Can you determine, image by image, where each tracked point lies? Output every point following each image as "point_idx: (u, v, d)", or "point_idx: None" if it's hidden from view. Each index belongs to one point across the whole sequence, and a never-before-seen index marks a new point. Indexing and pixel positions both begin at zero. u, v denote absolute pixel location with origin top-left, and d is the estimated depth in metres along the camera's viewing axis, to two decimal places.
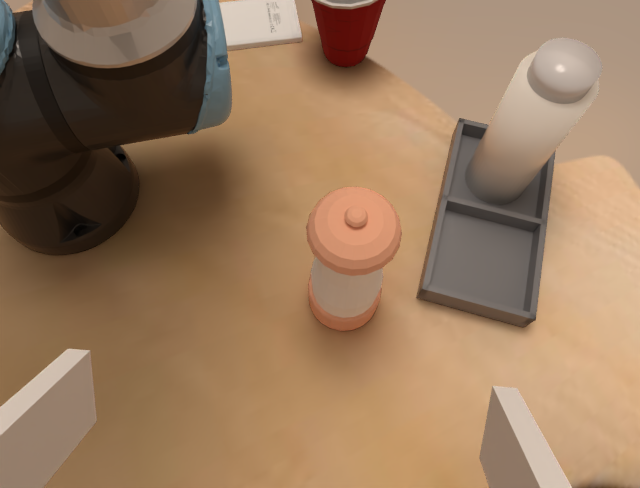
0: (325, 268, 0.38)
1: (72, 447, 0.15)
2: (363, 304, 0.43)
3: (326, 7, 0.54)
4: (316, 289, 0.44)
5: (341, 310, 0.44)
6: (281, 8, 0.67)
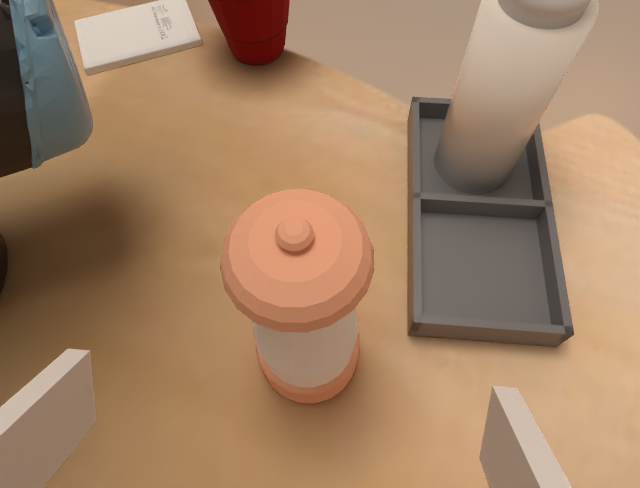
0: None
1: (72, 447, 0.15)
2: (337, 364, 0.29)
3: None
4: (264, 356, 0.29)
5: (307, 379, 0.30)
6: (170, 11, 0.54)
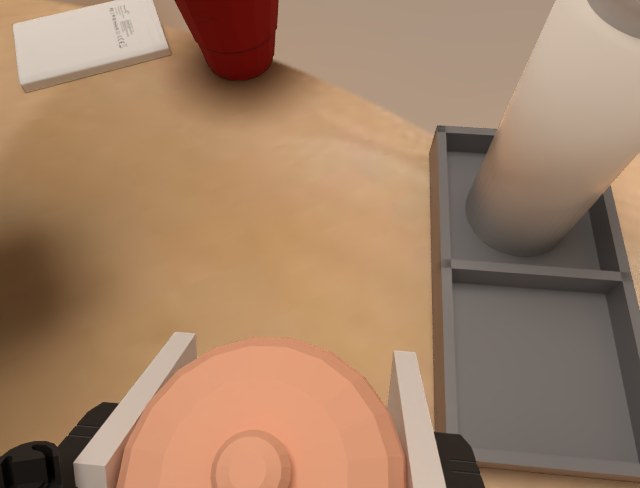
0: None
1: None
2: None
3: None
4: None
5: None
6: (133, 12, 0.44)
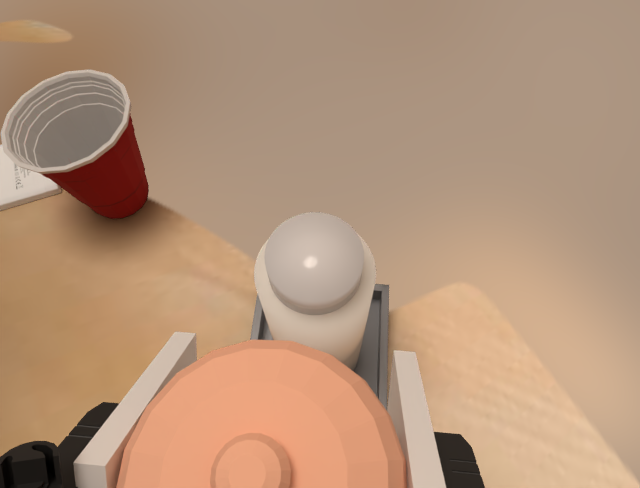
0: None
1: None
2: None
3: None
4: None
5: None
6: None
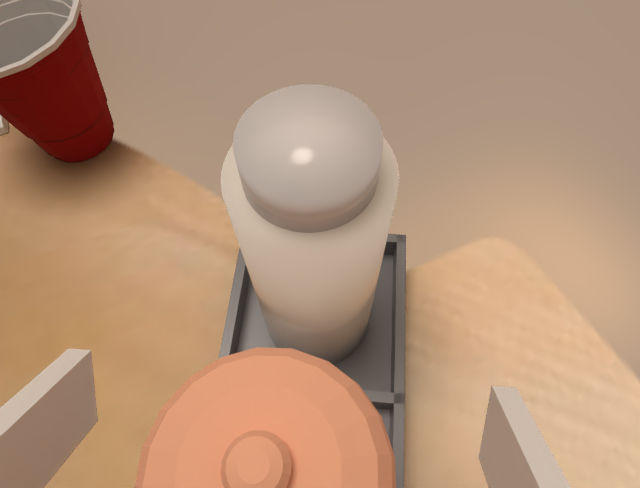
0: None
1: (73, 447, 0.15)
2: None
3: None
4: None
5: None
6: None
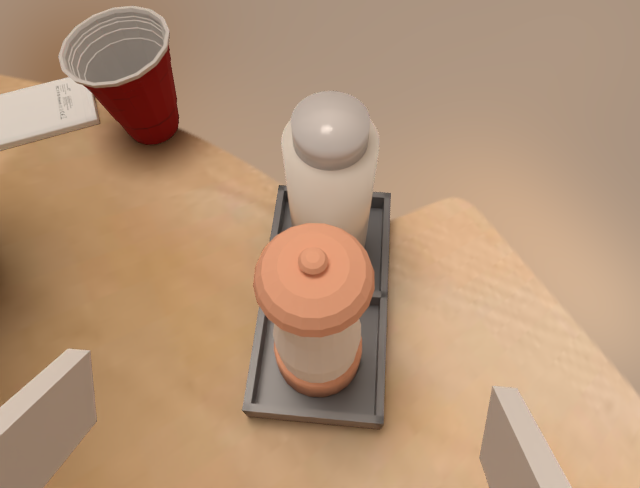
0: (287, 331, 0.30)
1: (72, 447, 0.15)
2: (343, 364, 0.35)
3: (92, 87, 0.45)
4: (283, 356, 0.35)
5: (318, 376, 0.36)
6: (73, 89, 0.58)
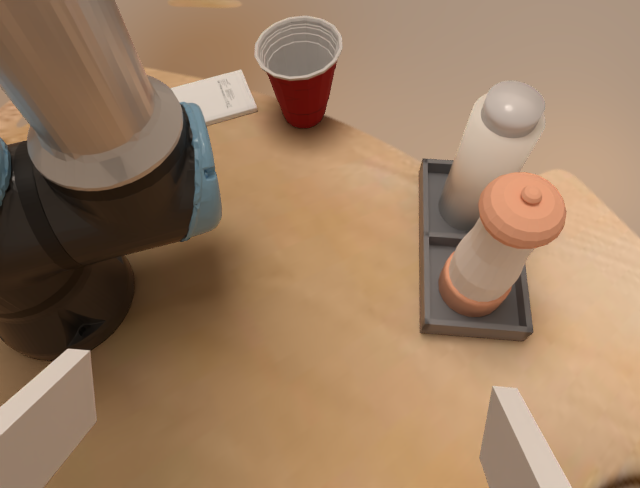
0: (492, 251, 0.43)
1: (72, 447, 0.15)
2: (513, 282, 0.47)
3: (284, 80, 0.58)
4: (468, 277, 0.47)
5: (492, 292, 0.48)
6: (232, 83, 0.71)
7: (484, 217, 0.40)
